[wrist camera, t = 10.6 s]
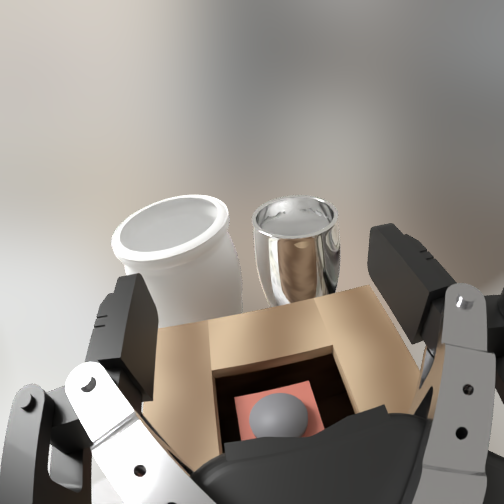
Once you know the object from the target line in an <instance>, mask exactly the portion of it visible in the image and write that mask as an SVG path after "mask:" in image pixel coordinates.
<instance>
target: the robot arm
mask: <svg viewBox="0 0 504 504" xmlns="http://www.w3.org/2000/svg"><path fill="white" fill-rule="evenodd" d="M367 264H368V271H369V275H370V277H371V279H372V281H373V282H374V284H375V285H376V287H377V288H378V290H379V292H380V293H381V295H382V296H383V298H384V299H385V301H386V302H387V304H388V306H389V307H390V309H391V310H392V312H393V314H394V315H395V317H396V319H397V320H398V322H399V324H400V325H401V327H402V329H403V330H404V332H405V334H406V335H407V337H408V339H409V340H410V342H411V344H415V343H418V342H421V341H424V342H425V344H426V348H425V350H424V354H423V360H422V365H421V370H420V375H419V379H418V384H417V388H416V392H415V396H414V399H413V402H412V404H411V407H410V409H409V412H408V414H406V413H388V411H387V409H386V407H385V404H383V405H380V406H378V407H375V408H372V409H369V410H366V411H363V412H360V413H357V414H353V415H350V416H347V417H346V418H344V419H342V420H340V421H339V422H337V423H335V424H333V425H331V426H330V427H328V428H326V429H324V430H322V431H320V432H318V433H316V434H315V435H312V436H309V437H260V438H254V439H248V440H242V441H236V442H229V443H224V447H225V453H223V454H220V455H218V456H216V457H214V458H212V459H211V460H209V461H207V462H206V463H204V464H203V465H202V466H201V467H199V468H198V469H197V470H196V471H194V470H193V469H192V468H191V467H190V466H189V465H188V464H187V463H186V462H185V461H184V460H183V459H182V458H181V457H180V456H179V455H178V454H177V453H176V452H175V451H174V450H173V449H172V447H171V446H170V445H169V444H168V443H167V442H166V441H165V440H164V438H163V437H162V436H161V435H160V434H159V433H158V431H157V430H156V429H155V428H154V427H153V426H152V424H151V423H150V422H149V421H148V419H147V418H146V417H145V416H144V415H143V413H142V412H141V405H142V402H148V401H153V393H154V375H155V360H156V347H157V335H158V324H159V319H158V312H157V308H156V305H155V303H154V301H153V299H152V297H151V294H150V292H149V290H148V288H147V285H146V283H145V281H144V279H143V277H142V275H141V274H140V273H136V274H131V275H126V276H122V277H119V278H118V280H117V283H116V287H115V290H114V293H110V294H108V295H107V296H106V298H105V299H104V300H103V302H102V303H101V305H100V307H99V311H98V314H97V319H96V321H95V325H94V329H93V332H92V335H91V339H90V343H89V347H88V351H87V355H86V359H85V363H84V364H81V365H79V366H78V367H76V368H75V369H74V370H73V371H72V372H71V374H70V376H69V377H68V379H67V381H66V385H65V386H62V387H59V388H57V389H54V390H51V391H49V392H45V391H44V390H43V389H42V388H41V387H40V386H39V385H37V384H29V385H26V386H24V387H23V388H22V389H20V390H19V391H18V393H17V394H16V396H15V397H14V400H13V403H12V407H11V412H10V416H9V421H8V426H7V431H6V436H5V442H4V448H3V455H2V462H1V466H0V504H92V503H91V462H92V460H91V459H92V454H93V456H94V457H95V459H96V461H97V462H98V464H99V465H100V467H101V469H102V470H103V472H104V473H105V475H106V476H107V478H108V479H109V481H110V482H111V484H112V485H113V487H114V488H115V489H116V491H117V492H118V494H119V495H120V496H121V498H122V499H123V501H124V502H125V503H126V504H504V457H501V456H499V455H497V454H495V453H493V452H491V451H489V450H488V447H489V440H490V433H491V426H492V417H493V407H494V393H495V388H496V390H497V392H498V394H499V396H500V398H501V400H502V402H503V404H504V288H503V291H502V293H501V295H489V296H483V294H482V293H481V292H480V291H479V290H478V289H477V288H475V287H473V286H471V285H469V284H465V283H456V282H455V280H454V279H453V278H452V277H451V276H450V275H449V274H448V273H447V271H446V270H445V269H444V268H443V267H442V266H441V264H440V263H439V262H438V261H437V260H436V259H434V258H433V256H432V255H431V254H430V252H427V249H426V248H425V247H424V246H423V245H422V244H421V243H420V242H419V241H418V240H416V239H414V238H413V237H411V236H409V235H407V234H405V235H403V234H402V232H401V231H400V230H399V229H398V228H397V227H396V226H395V225H394V224H392V223H389V224H384V225H379V226H374V227H372V228H371V230H370V239H369V251H368V262H367ZM50 444H51V445H52V453H51V464H50V476H49V473H48V455H49V445H50Z"/></svg>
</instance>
